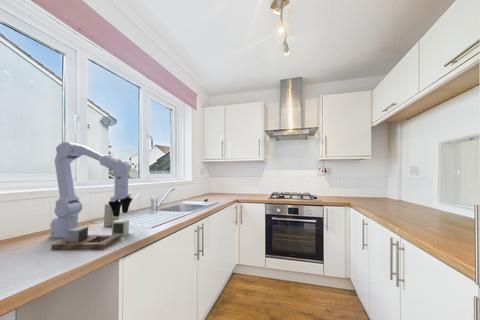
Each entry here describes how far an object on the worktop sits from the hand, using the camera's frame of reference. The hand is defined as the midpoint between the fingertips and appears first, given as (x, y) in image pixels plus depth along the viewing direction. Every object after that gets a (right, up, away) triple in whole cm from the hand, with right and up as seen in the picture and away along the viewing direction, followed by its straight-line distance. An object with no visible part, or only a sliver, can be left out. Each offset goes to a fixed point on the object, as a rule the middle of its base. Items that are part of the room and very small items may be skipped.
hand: (120, 214), depth 100 cm
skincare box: (-15, -11, +16) cm, 24 cm away
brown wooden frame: (-6, -9, -14) cm, 17 cm away
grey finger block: (-10, -9, -14) cm, 19 cm away
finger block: (0, -10, -1) cm, 10 cm away
